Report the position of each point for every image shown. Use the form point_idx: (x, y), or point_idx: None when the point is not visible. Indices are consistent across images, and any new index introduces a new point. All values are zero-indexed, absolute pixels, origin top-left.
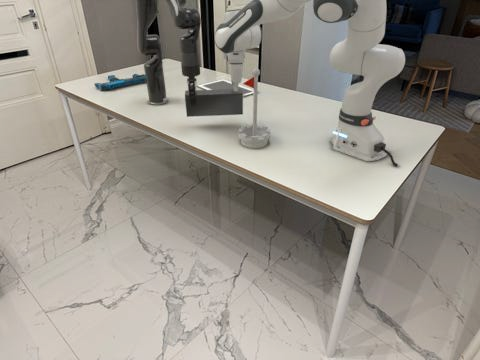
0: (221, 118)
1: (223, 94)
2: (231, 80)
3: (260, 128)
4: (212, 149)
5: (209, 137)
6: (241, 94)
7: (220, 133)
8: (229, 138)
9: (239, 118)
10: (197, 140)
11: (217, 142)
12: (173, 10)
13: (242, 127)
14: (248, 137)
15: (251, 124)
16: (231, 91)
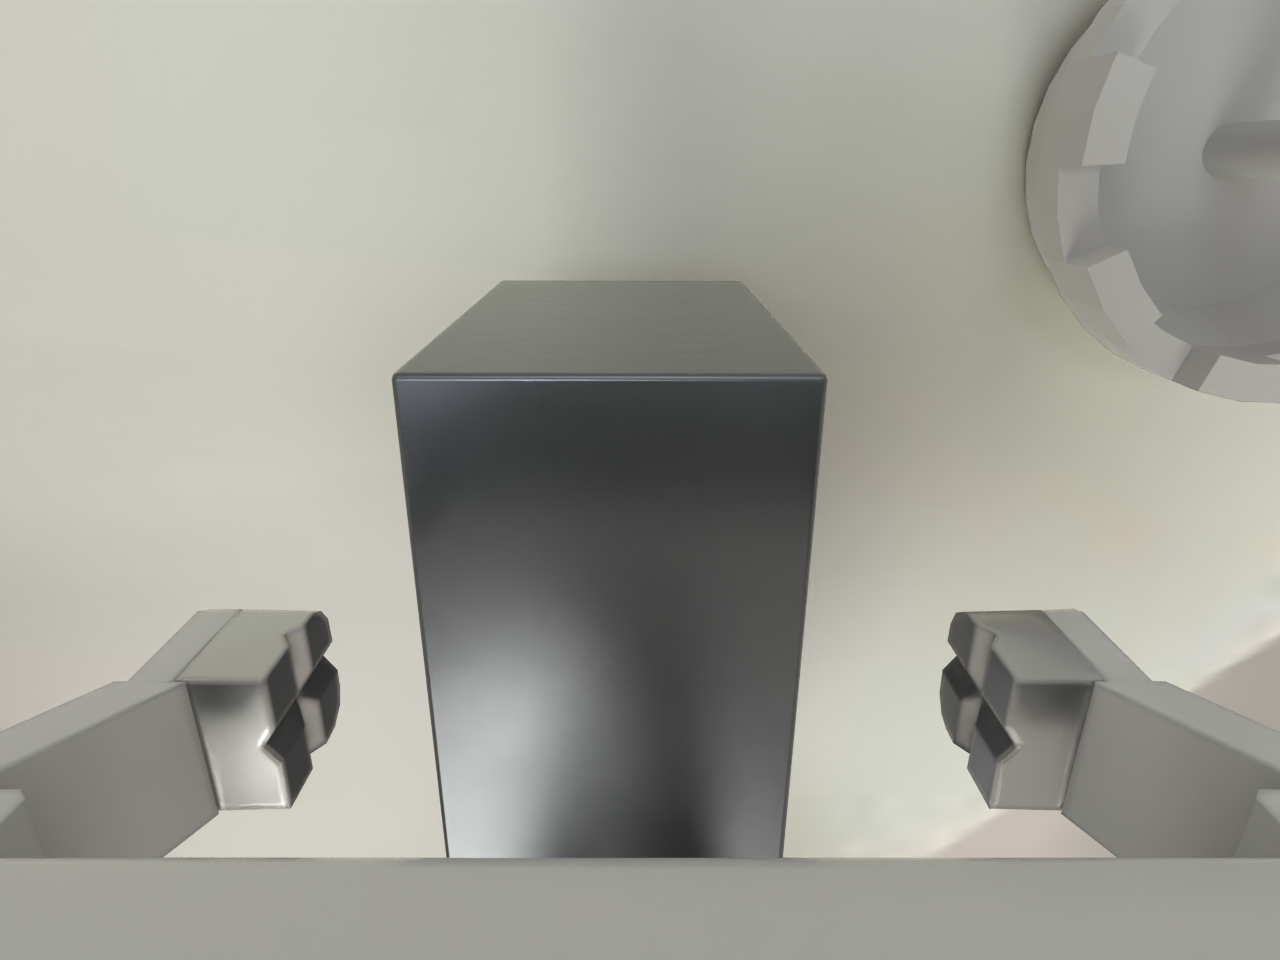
0: (386, 502)
1: (782, 823)
2: (228, 790)
3: (1168, 9)
4: (1191, 632)
5: (907, 650)
6: (818, 407)
7: (832, 539)
8: (991, 451)
9: (384, 263)
10: (947, 753)
11: (1051, 580)
12: None
13: (1137, 327)
14: (1129, 225)
15: (1087, 165)
16: (633, 660)
